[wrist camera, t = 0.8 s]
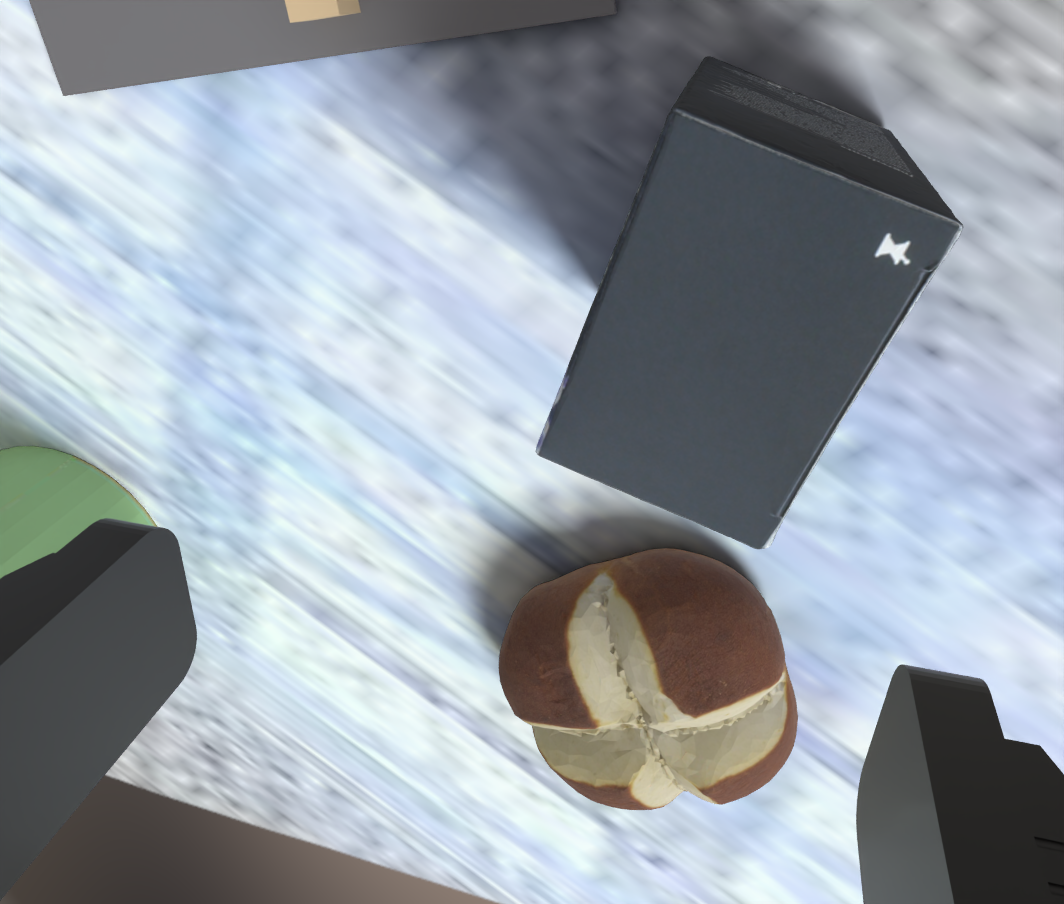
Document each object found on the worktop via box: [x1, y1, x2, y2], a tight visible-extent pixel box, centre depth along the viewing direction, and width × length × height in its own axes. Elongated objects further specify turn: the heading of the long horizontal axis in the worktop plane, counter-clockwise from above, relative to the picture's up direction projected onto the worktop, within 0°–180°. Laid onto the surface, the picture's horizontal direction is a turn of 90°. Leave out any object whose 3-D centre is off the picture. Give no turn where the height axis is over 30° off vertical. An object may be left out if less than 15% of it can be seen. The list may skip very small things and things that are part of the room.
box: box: [536, 57, 963, 549], centre depth 21 cm, size 8×6×11 cm
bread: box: [499, 548, 798, 810], centre depth 33 cm, size 11×11×5 cm
